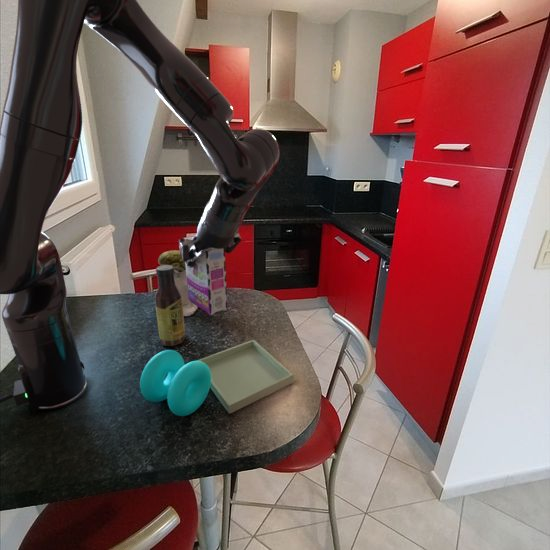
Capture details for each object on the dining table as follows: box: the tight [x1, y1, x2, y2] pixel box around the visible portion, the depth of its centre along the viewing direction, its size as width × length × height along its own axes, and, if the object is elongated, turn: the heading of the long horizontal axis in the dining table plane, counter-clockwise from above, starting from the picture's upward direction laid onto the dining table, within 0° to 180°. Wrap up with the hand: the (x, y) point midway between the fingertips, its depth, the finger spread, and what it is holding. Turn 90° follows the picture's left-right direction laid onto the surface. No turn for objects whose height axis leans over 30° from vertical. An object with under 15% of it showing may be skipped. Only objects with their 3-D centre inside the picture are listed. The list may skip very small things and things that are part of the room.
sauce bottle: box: [154, 265, 186, 347], centre depth 79 cm, size 7×6×20 cm
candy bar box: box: [183, 235, 228, 316], centre depth 76 cm, size 11×5×16 cm, turn 41°
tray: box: [196, 339, 295, 415], centre depth 70 cm, size 15×16×2 cm
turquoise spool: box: [139, 349, 211, 417], centre depth 61 cm, size 10×10×10 cm
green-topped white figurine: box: [157, 249, 200, 317], centre depth 95 cm, size 12×13×18 cm
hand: (201, 261), depth 76 cm, fingers closed on candy bar box, 5 cm apart
